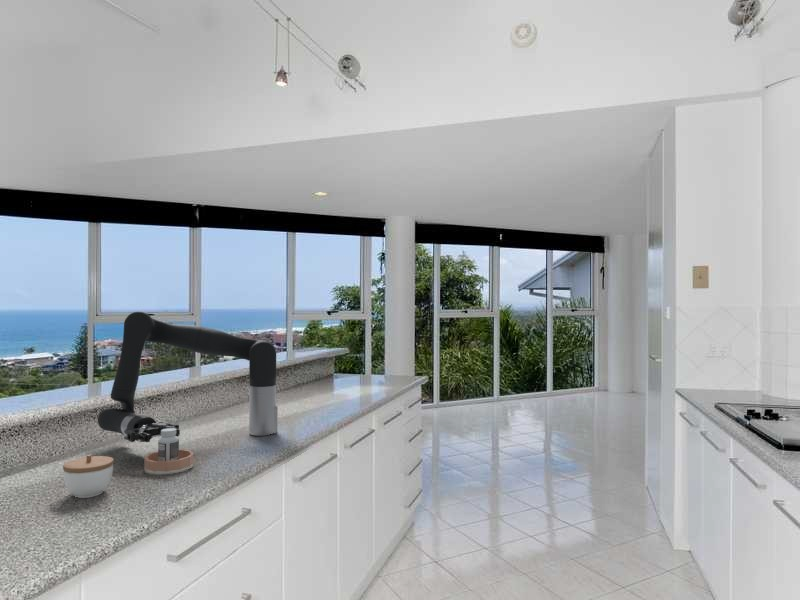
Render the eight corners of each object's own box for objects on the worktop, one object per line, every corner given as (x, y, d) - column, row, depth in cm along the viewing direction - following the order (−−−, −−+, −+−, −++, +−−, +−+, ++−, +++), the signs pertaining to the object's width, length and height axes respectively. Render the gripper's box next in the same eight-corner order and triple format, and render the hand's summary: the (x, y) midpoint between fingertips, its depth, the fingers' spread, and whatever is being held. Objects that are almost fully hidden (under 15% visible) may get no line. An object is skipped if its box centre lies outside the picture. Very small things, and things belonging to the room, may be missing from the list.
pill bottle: (178, 460, 156) (178, 426, 156) (179, 465, 151) (179, 430, 152) (157, 462, 154) (158, 428, 154) (158, 468, 149) (158, 432, 149)
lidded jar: (77, 505, 124) (78, 464, 124) (53, 496, 130) (54, 457, 130) (122, 491, 133) (122, 453, 134) (98, 483, 139) (98, 447, 139)
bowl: (188, 459, 161) (188, 447, 161) (196, 470, 151) (197, 457, 151) (142, 465, 155) (142, 453, 155) (147, 477, 144) (147, 464, 144)
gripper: (114, 418, 160) (138, 426, 150) (161, 411, 171) (187, 418, 161) (114, 443, 160) (138, 453, 150) (161, 435, 171) (187, 444, 161)
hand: (163, 435), depth 155 cm, fingers open, 8 cm apart
